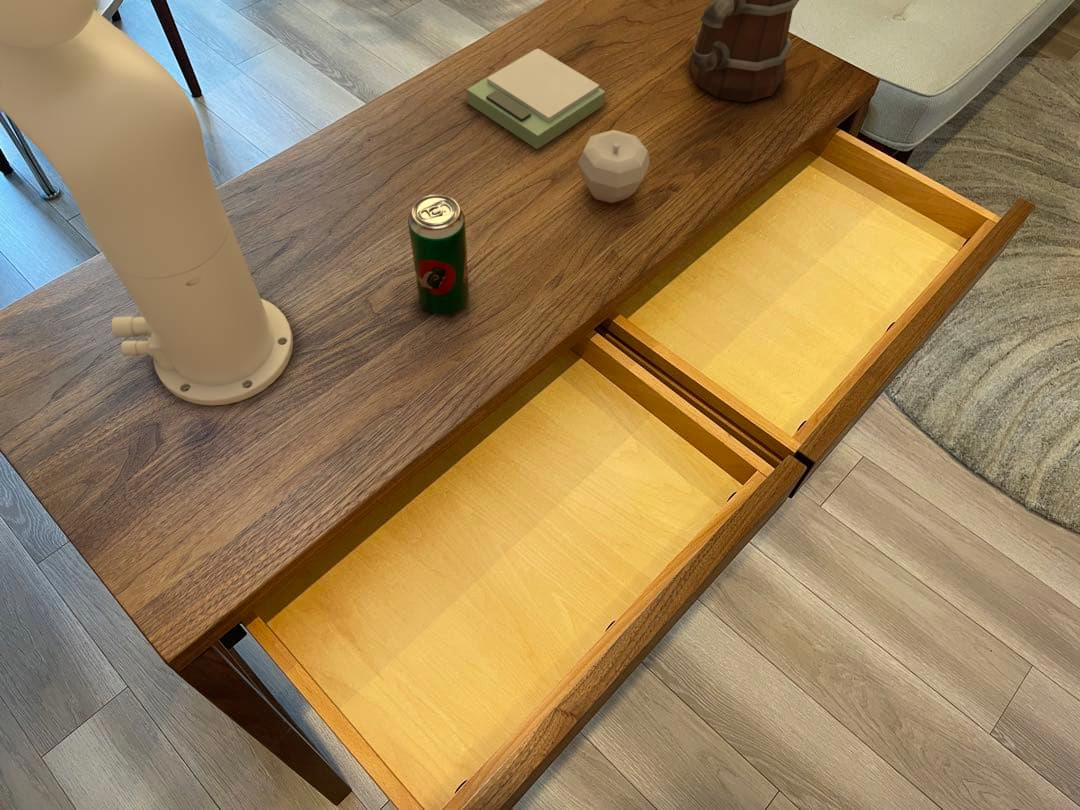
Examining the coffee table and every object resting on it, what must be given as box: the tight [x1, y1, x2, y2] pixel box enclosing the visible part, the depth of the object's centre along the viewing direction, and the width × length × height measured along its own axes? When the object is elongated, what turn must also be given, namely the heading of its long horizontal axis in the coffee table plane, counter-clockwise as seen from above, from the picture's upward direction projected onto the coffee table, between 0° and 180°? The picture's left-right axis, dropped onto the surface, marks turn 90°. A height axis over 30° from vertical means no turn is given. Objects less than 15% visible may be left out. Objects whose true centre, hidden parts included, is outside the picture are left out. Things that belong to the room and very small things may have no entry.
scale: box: [466, 48, 606, 150], centre depth 96 cm, size 12×12×3 cm
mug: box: [688, 0, 800, 103], centre depth 94 cm, size 16×12×15 cm
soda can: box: [407, 193, 470, 316], centre depth 74 cm, size 5×5×12 cm
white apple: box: [577, 129, 651, 204], centre depth 86 cm, size 8×8×7 cm
